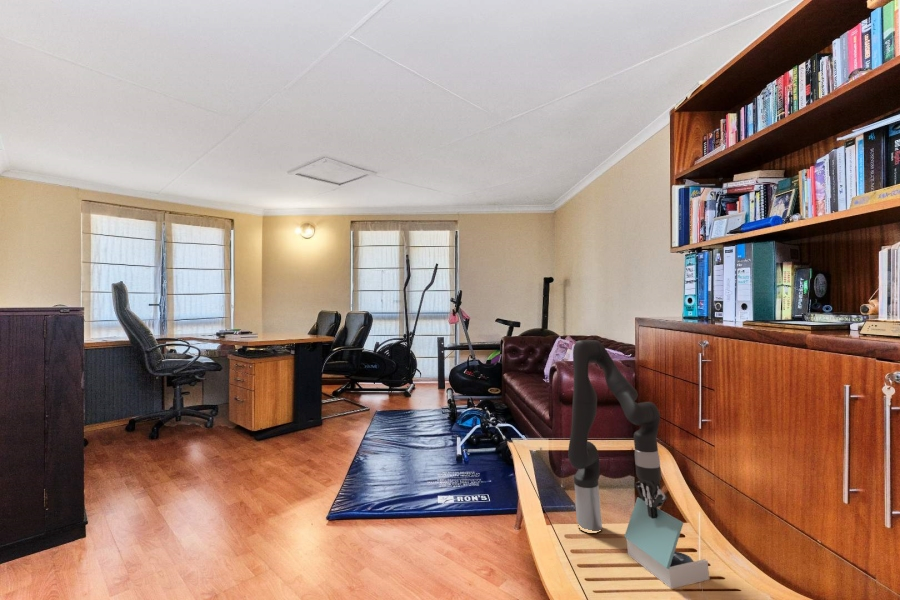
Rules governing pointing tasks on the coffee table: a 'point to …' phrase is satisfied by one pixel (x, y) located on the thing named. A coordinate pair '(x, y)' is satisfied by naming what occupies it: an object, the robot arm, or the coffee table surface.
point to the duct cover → (654, 533)
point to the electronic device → (680, 559)
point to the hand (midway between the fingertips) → (652, 517)
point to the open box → (671, 568)
